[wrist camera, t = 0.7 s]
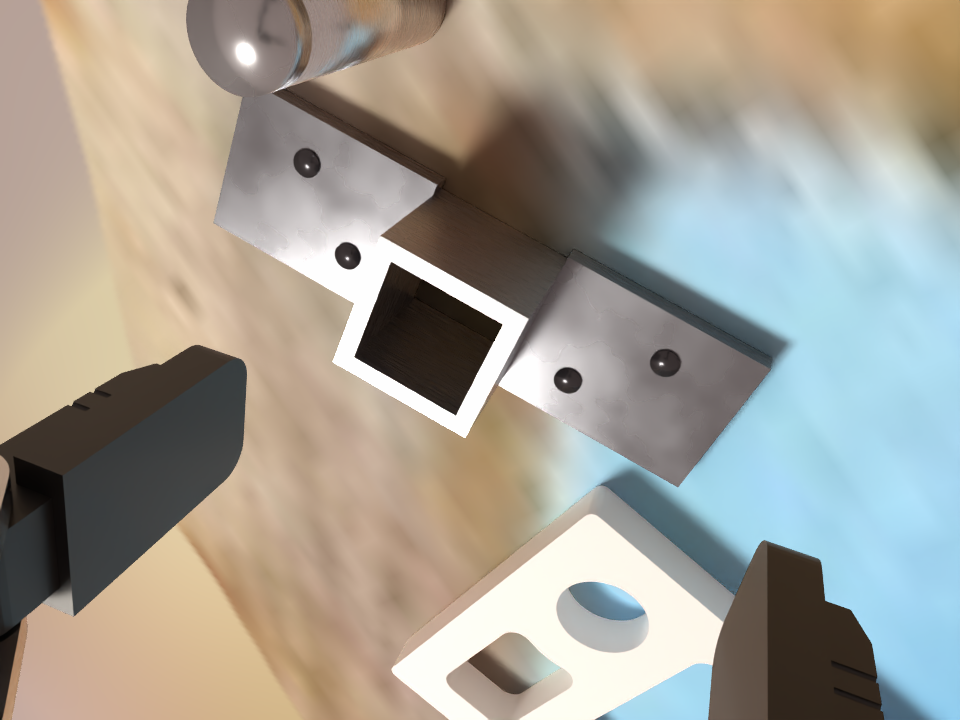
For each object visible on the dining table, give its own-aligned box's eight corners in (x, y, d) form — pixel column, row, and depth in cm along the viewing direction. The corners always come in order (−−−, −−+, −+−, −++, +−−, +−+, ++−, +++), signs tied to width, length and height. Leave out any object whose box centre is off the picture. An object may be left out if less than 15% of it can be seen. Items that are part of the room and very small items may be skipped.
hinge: (260, 75, 33) (167, 102, 28) (771, 357, 32) (768, 438, 27) (226, 216, 37) (139, 261, 32) (680, 474, 36) (662, 563, 31)
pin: (383, -63, 29) (198, -57, 20) (458, -23, 29) (307, 2, 20) (357, 22, 31) (177, 63, 22) (428, 60, 31) (276, 118, 22)
